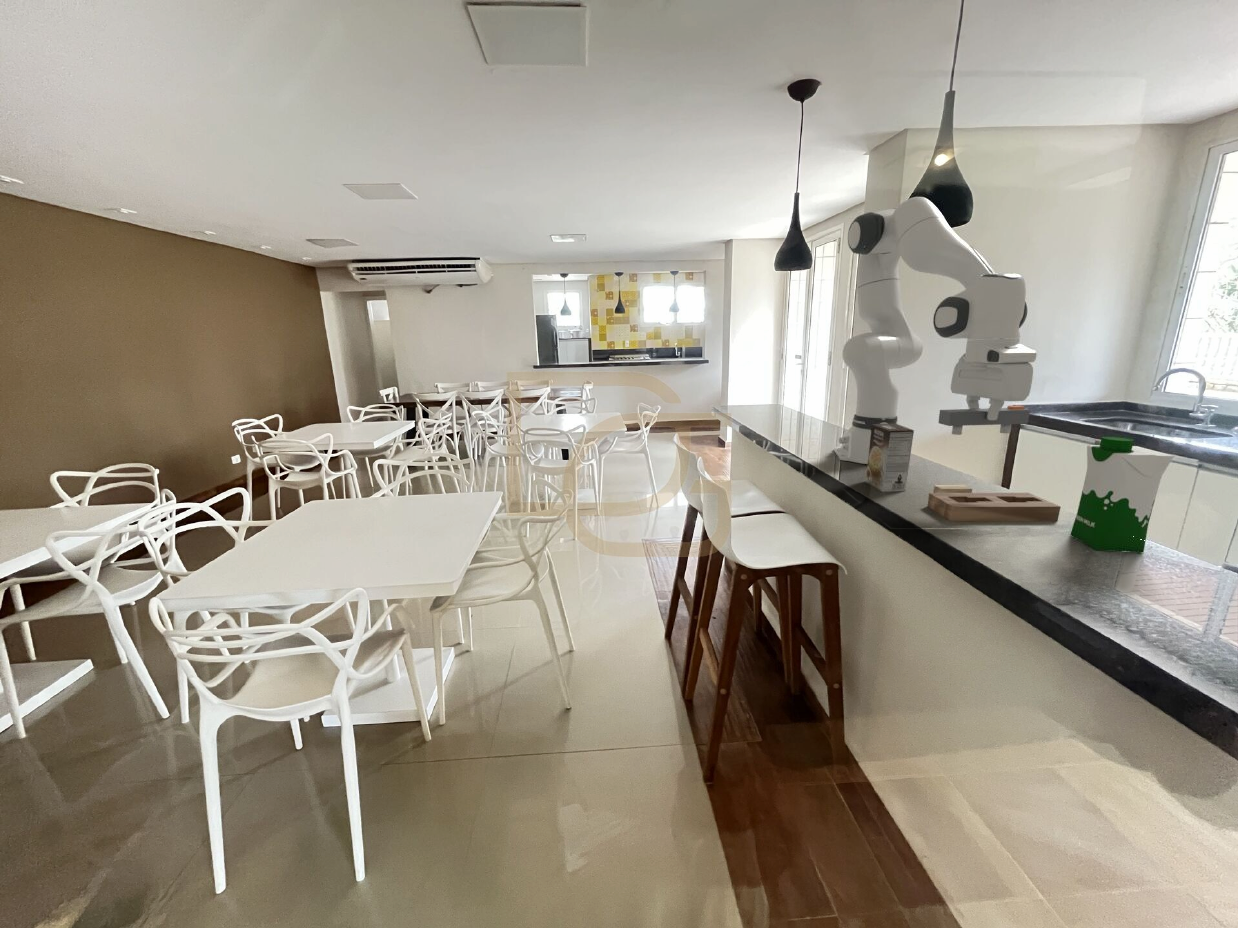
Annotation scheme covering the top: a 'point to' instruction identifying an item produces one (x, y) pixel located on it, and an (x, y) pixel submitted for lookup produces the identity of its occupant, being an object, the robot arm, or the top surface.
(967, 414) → the grey bar
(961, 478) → the top surface
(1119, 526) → the milk carton
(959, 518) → the keyhole board
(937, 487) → the block
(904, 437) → the coffee box
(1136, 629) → the top surface
